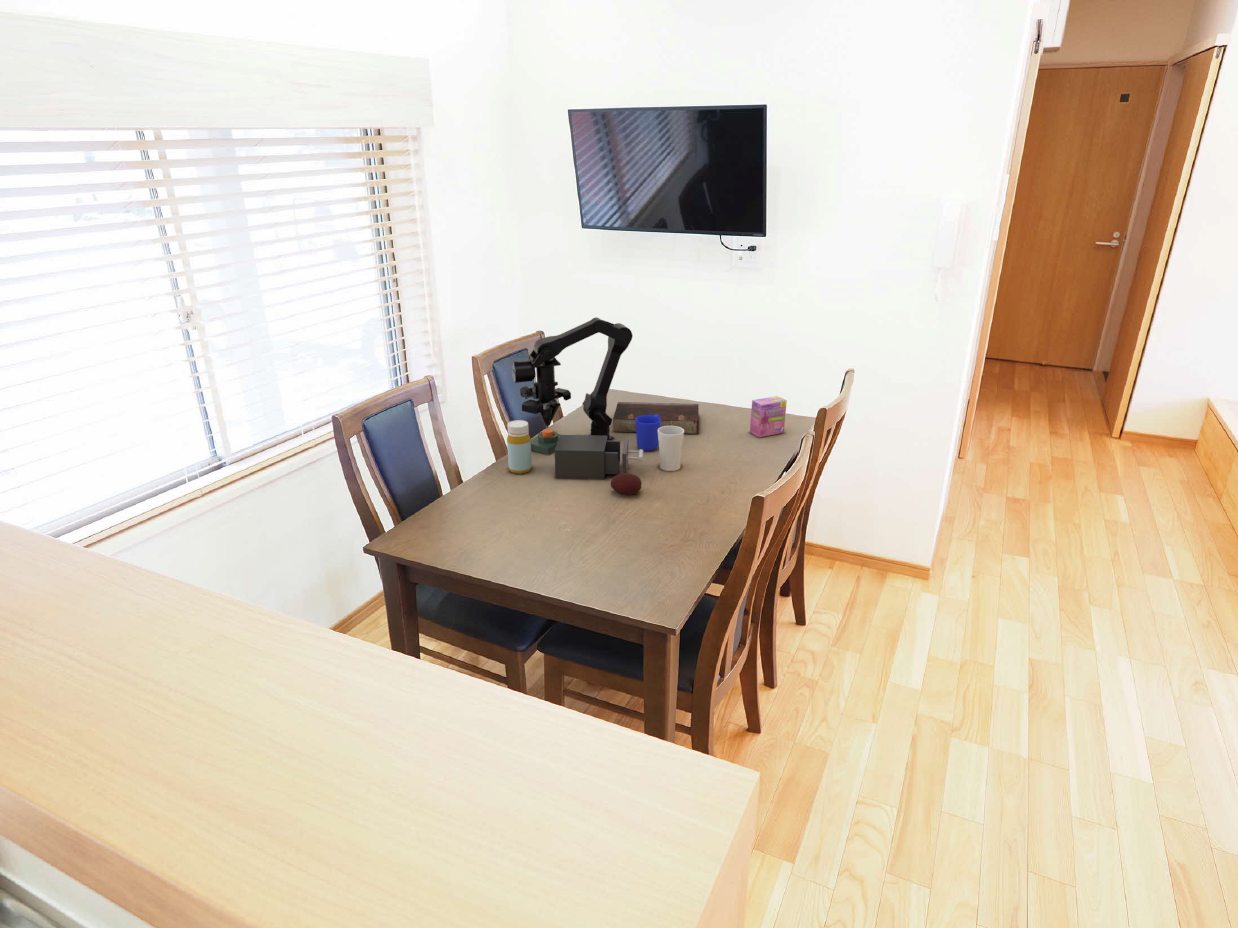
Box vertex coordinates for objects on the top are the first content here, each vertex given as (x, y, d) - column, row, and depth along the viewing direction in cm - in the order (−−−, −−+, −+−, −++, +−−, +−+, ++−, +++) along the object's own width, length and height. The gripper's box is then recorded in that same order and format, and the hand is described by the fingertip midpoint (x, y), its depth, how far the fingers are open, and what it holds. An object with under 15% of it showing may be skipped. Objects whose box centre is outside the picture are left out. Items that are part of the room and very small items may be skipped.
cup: (675, 474, 236) (676, 437, 231) (652, 468, 240) (652, 431, 235) (687, 465, 242) (688, 428, 238) (664, 459, 246) (665, 423, 242)
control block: (549, 437, 264) (548, 426, 263) (570, 442, 260) (570, 431, 258) (526, 448, 255) (525, 437, 254) (547, 454, 251) (547, 443, 249)
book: (697, 415, 283) (698, 402, 281) (698, 434, 266) (698, 420, 264) (617, 413, 286) (617, 400, 284) (613, 432, 268) (613, 418, 266)
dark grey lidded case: (607, 462, 244) (607, 435, 241) (604, 479, 233) (604, 451, 229) (561, 461, 245) (560, 434, 242) (555, 478, 234) (554, 450, 230)
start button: (547, 432, 258) (547, 427, 258) (555, 435, 256) (555, 430, 256) (540, 436, 256) (540, 431, 255) (548, 438, 254) (548, 433, 253)
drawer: (643, 461, 243) (643, 439, 240) (642, 476, 232) (642, 454, 229) (585, 460, 244) (584, 438, 241) (581, 475, 234) (580, 452, 231)
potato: (634, 501, 219) (634, 481, 217) (606, 495, 223) (606, 475, 221) (646, 490, 226) (646, 471, 223) (618, 485, 229) (618, 466, 227)
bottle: (528, 475, 236) (525, 428, 230) (505, 473, 237) (502, 427, 231) (534, 466, 242) (532, 420, 236) (513, 464, 243) (510, 419, 237)
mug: (668, 441, 260) (669, 413, 256) (654, 454, 250) (655, 425, 246) (645, 438, 263) (646, 410, 260) (631, 450, 253) (631, 421, 249)
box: (758, 438, 263) (761, 404, 258) (749, 432, 268) (751, 399, 263) (784, 433, 267) (787, 400, 262) (774, 427, 272) (777, 395, 267)
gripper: (544, 368, 260) (546, 413, 266) (506, 382, 245) (509, 429, 252) (571, 373, 254) (572, 419, 260) (534, 388, 240) (536, 436, 246)
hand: (547, 425), depth 255 cm, fingers closed
